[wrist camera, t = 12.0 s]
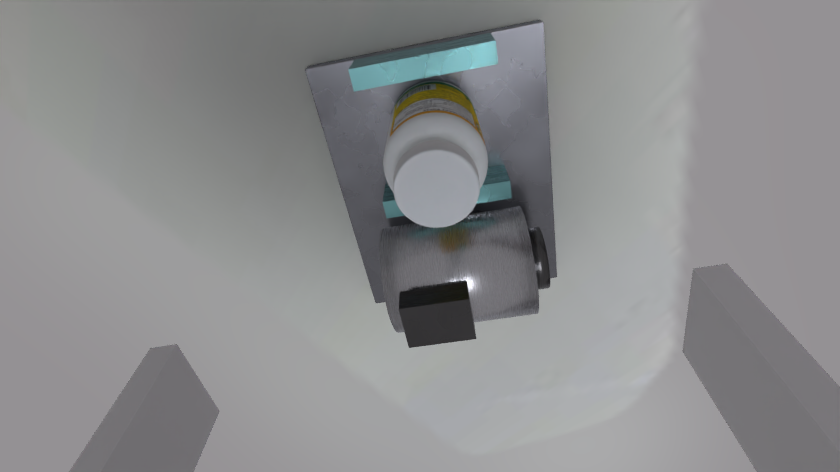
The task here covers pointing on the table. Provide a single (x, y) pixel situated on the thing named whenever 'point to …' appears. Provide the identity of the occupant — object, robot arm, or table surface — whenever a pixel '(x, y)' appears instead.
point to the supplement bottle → (435, 154)
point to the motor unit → (499, 195)
